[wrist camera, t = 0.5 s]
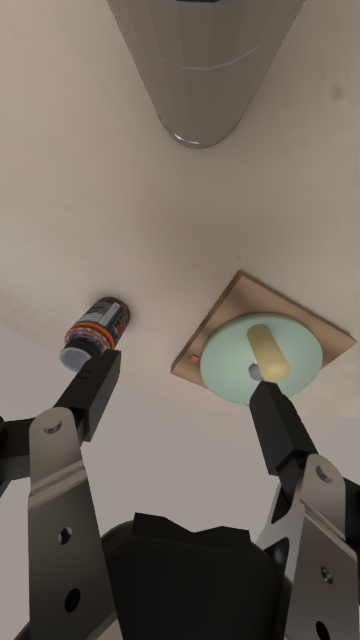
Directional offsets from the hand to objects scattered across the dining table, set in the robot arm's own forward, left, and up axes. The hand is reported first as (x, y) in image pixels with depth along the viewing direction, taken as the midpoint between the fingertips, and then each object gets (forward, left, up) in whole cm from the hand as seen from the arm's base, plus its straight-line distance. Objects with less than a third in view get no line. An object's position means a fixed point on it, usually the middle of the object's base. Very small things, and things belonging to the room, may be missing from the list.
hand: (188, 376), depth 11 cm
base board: (+7, +16, -19) cm, 26 cm away
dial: (+7, +16, -17) cm, 24 cm away
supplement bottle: (+12, -8, -19) cm, 24 cm away
